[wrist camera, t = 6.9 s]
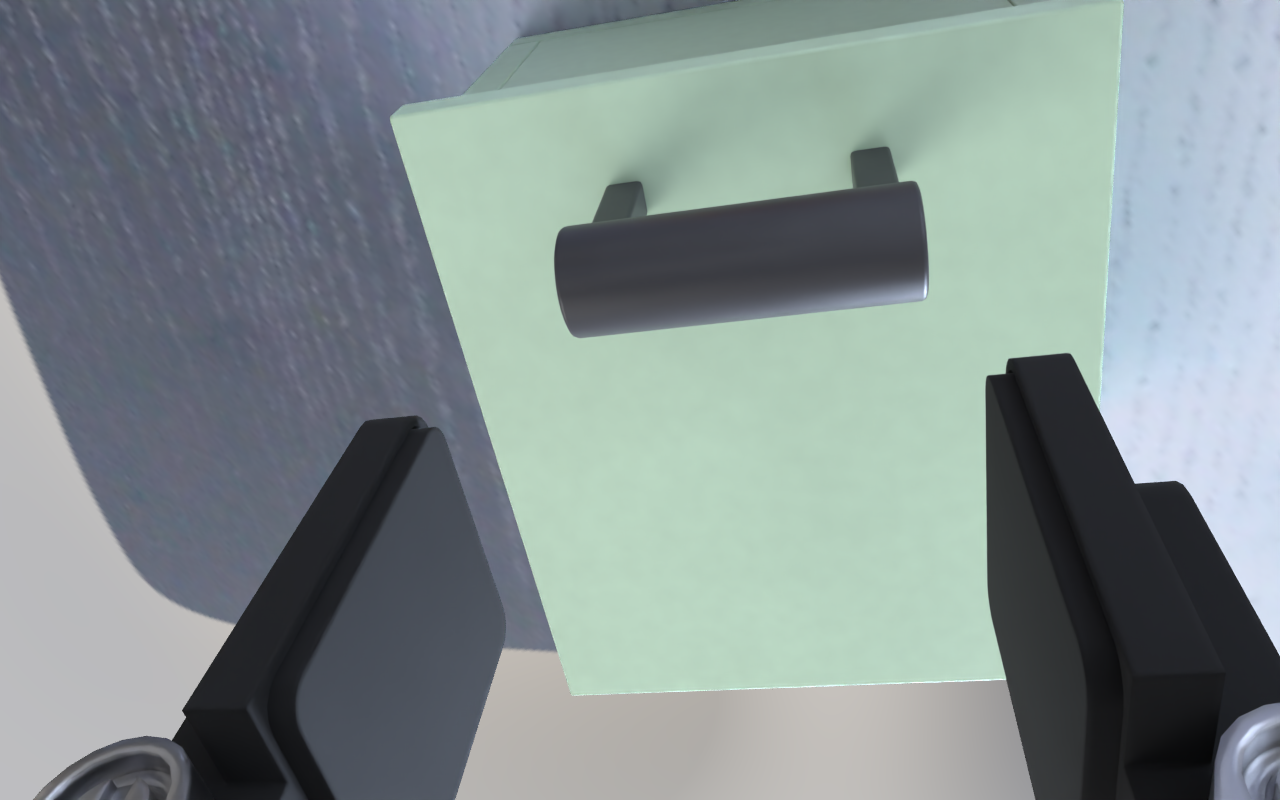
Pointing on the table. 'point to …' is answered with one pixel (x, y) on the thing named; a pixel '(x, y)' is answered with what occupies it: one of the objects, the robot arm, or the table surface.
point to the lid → (773, 332)
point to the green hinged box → (704, 35)
